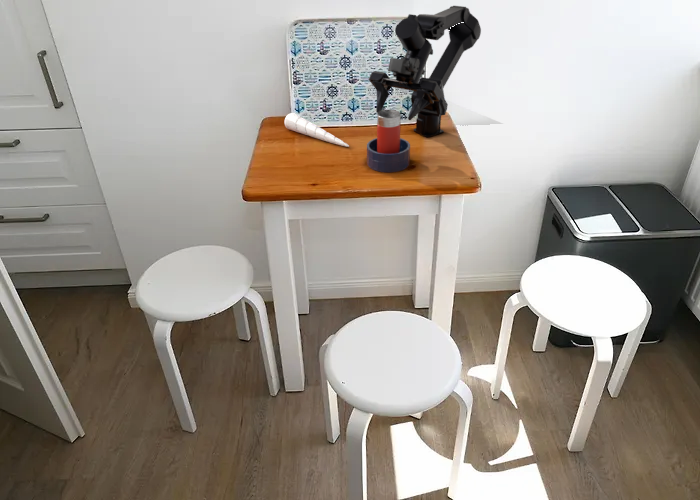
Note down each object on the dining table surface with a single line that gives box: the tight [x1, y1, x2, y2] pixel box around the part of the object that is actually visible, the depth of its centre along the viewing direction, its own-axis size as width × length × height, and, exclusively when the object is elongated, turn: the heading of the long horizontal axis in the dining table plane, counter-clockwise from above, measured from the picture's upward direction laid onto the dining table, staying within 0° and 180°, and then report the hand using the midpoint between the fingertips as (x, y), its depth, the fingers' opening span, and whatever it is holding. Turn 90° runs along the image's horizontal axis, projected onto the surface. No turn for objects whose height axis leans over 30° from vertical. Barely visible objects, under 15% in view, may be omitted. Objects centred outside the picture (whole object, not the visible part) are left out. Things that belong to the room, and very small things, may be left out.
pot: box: [366, 137, 411, 173], centre depth 151 cm, size 11×11×5 cm
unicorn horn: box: [284, 112, 350, 148], centre depth 165 cm, size 5×24×5 cm, turn 46°
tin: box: [376, 109, 402, 154], centre depth 148 cm, size 6×6×13 cm
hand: (393, 116), depth 147 cm, fingers open, 9 cm apart
